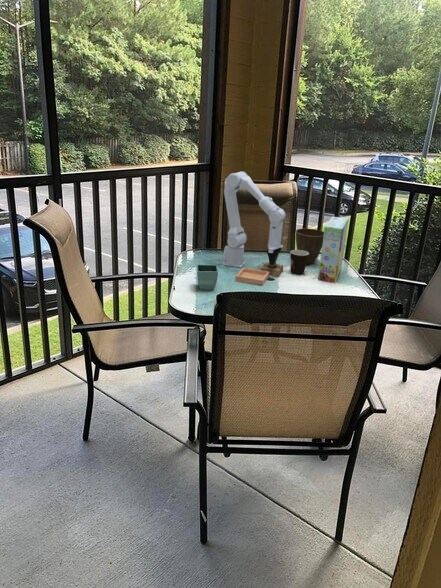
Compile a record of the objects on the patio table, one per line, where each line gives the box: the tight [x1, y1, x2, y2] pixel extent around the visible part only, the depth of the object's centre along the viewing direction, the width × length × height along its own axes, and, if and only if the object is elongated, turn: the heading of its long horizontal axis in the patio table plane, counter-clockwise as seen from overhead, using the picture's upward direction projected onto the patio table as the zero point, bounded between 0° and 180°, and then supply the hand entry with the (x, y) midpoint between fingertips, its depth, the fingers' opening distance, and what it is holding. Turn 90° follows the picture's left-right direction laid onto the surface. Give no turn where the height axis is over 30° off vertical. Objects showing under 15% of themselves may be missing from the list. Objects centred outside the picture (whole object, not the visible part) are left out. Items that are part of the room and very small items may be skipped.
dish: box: [234, 267, 270, 286], centre depth 208 cm, size 13×13×2 cm
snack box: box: [317, 216, 349, 284], centre depth 214 cm, size 22×9×26 cm, turn 159°
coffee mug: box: [289, 249, 309, 276], centre depth 219 cm, size 12×9×10 cm
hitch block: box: [260, 262, 284, 278], centre depth 217 cm, size 9×9×3 cm
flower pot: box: [196, 264, 219, 291], centre depth 194 cm, size 9×9×9 cm
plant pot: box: [295, 228, 324, 266], centre depth 231 cm, size 15×15×16 cm
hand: (272, 263), depth 216 cm, fingers closed on pin, 3 cm apart
